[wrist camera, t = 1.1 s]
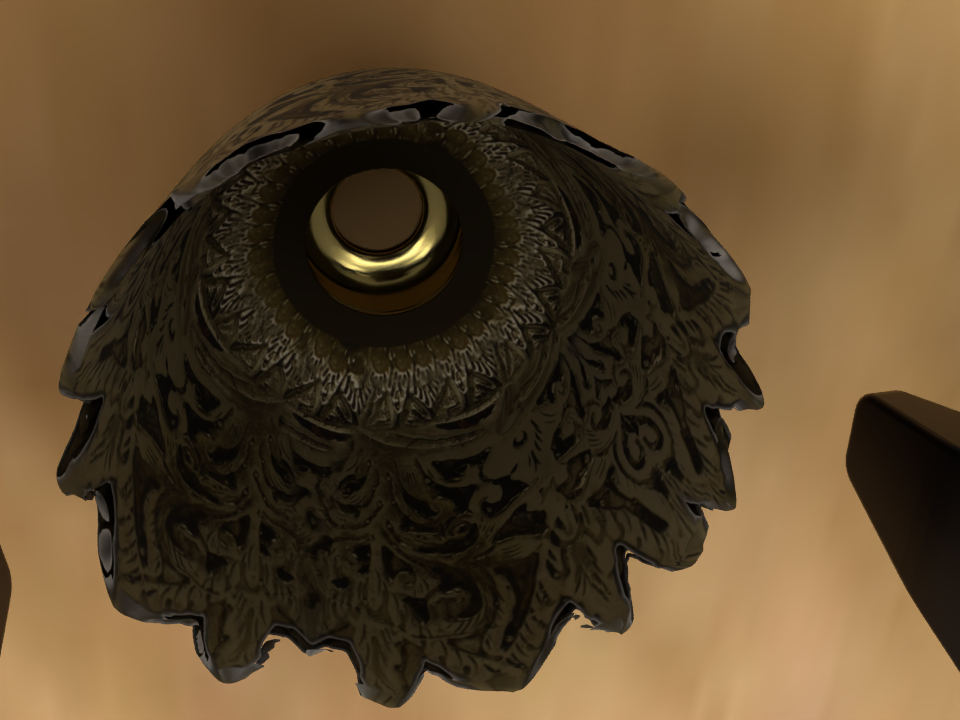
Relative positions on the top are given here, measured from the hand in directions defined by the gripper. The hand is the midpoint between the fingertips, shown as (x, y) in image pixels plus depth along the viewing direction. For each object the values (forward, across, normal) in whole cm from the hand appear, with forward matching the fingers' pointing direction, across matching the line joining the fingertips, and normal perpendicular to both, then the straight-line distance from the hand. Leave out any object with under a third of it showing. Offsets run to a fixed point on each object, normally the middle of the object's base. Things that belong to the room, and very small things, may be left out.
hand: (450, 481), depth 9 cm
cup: (+8, 0, 0) cm, 8 cm away
